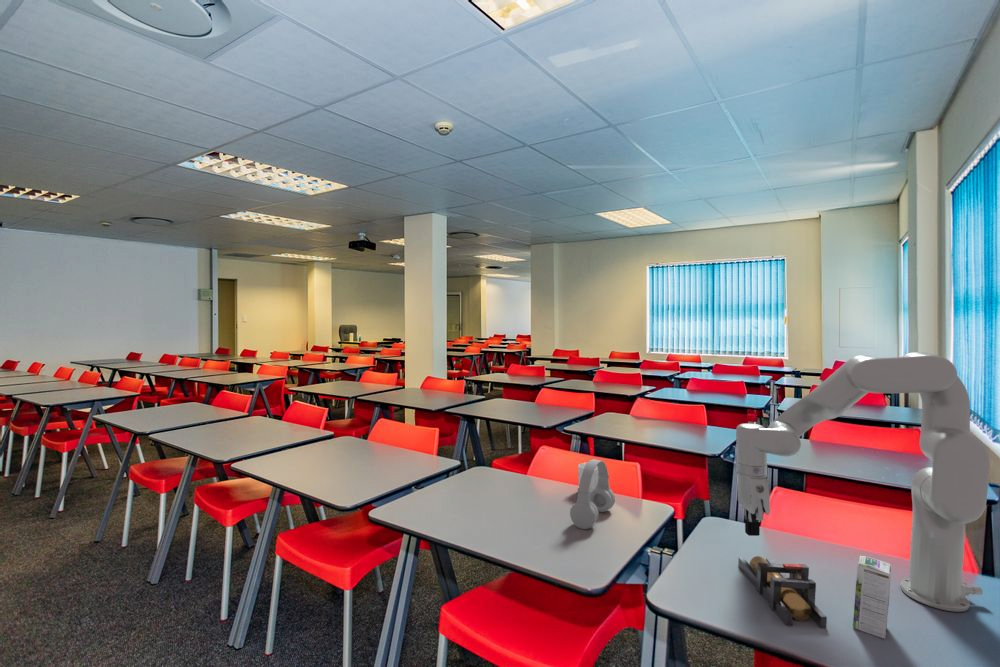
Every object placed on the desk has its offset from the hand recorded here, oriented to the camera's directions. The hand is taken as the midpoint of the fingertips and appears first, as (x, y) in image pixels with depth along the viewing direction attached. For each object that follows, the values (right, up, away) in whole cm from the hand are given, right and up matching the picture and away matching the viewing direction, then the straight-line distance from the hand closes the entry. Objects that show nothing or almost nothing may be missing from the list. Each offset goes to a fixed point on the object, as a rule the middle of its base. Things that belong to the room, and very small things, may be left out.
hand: (752, 534), depth 135 cm
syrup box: (+11, -9, -29) cm, 32 cm away
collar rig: (-2, -8, -16) cm, 18 cm away
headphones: (-40, -5, +25) cm, 47 cm away
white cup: (-37, -4, +48) cm, 60 cm away
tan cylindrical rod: (-3, -8, -17) cm, 19 cm away
